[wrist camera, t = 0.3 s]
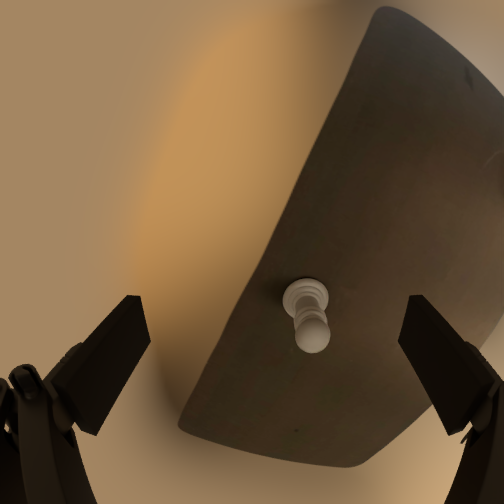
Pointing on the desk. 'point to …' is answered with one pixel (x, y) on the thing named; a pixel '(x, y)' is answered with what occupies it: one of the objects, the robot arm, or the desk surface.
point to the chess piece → (308, 313)
